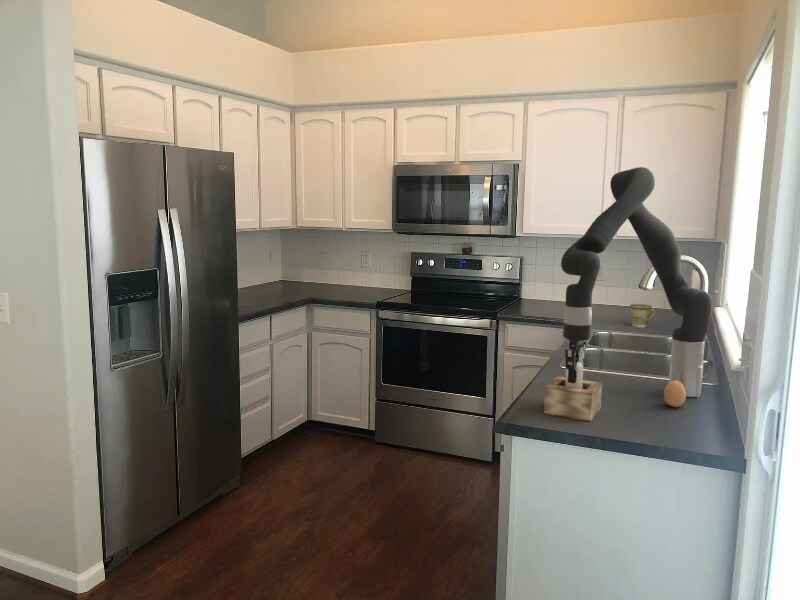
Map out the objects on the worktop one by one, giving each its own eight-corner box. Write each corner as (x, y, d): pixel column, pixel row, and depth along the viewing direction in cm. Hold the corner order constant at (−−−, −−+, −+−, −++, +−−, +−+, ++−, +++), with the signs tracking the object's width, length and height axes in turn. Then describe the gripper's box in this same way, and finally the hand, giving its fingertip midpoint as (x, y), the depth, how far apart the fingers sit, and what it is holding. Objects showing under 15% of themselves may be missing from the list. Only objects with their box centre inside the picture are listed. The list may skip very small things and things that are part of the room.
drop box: (600, 409, 187) (602, 382, 186) (590, 421, 177) (591, 393, 176) (556, 402, 194) (557, 376, 192) (543, 413, 183) (545, 386, 182)
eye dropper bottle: (566, 392, 182) (568, 350, 180) (564, 386, 188) (566, 346, 186) (582, 393, 181) (584, 351, 180) (580, 387, 187) (582, 347, 185)
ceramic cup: (623, 325, 310) (625, 304, 308) (636, 323, 316) (637, 303, 314) (648, 330, 300) (649, 308, 298) (660, 327, 305) (662, 306, 304)
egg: (659, 406, 190) (661, 380, 189) (666, 402, 195) (668, 376, 193) (681, 411, 186) (683, 384, 185) (687, 406, 191) (689, 380, 190)
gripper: (584, 327, 173) (581, 388, 176) (597, 318, 186) (593, 376, 188) (556, 324, 177) (554, 384, 180) (571, 316, 189) (568, 372, 192)
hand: (574, 380), depth 184 cm, fingers closed on eye dropper bottle, 5 cm apart
